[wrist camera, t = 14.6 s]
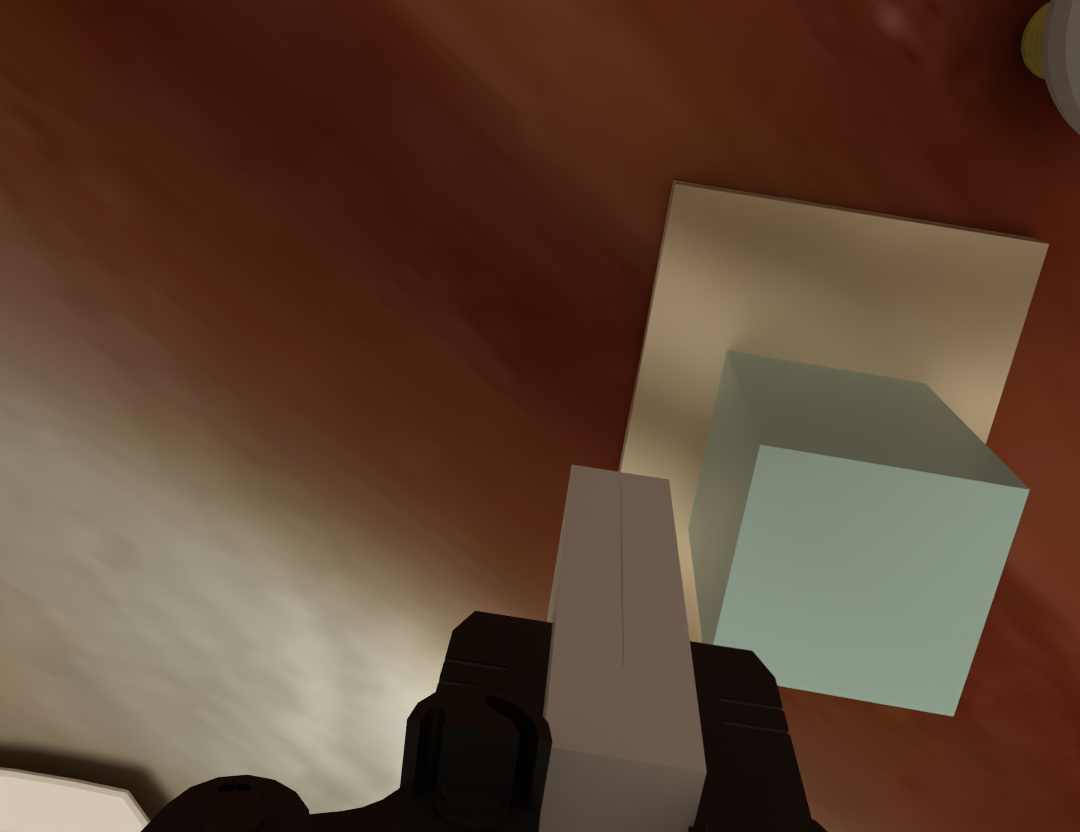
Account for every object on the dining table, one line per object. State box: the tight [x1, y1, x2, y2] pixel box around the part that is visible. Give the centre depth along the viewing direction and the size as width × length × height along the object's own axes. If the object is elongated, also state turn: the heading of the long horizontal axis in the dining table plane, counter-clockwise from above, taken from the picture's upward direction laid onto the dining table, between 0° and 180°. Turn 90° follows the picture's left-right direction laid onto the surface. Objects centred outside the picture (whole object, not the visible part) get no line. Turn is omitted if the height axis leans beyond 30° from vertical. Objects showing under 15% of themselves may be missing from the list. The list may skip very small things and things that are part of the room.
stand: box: [618, 180, 1049, 643], centre depth 27 cm, size 14×10×7 cm
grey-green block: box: [688, 351, 1029, 717], centre depth 25 cm, size 6×6×8 cm
